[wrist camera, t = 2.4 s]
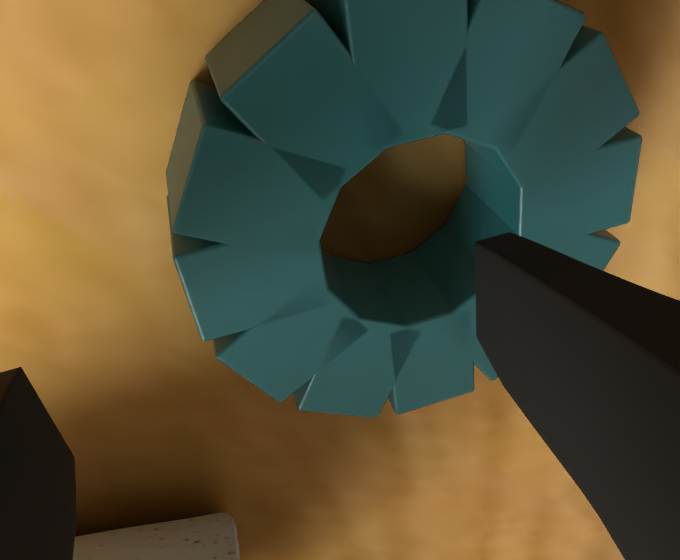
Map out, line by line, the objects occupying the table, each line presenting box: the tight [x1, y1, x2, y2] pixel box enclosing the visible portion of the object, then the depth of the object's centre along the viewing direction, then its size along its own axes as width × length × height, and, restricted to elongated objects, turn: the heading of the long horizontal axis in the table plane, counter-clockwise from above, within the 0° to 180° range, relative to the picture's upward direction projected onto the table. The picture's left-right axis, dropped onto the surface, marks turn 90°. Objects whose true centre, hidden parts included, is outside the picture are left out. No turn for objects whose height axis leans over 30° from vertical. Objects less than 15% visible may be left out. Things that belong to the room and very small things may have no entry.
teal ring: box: [166, 0, 642, 418], centre depth 13 cm, size 9×9×3 cm
